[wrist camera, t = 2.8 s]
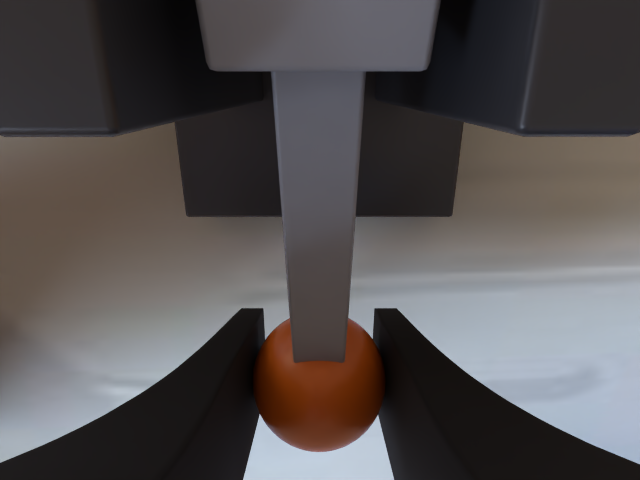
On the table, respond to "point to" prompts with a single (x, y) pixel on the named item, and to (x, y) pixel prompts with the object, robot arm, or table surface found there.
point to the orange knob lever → (318, 192)
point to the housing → (379, 96)
